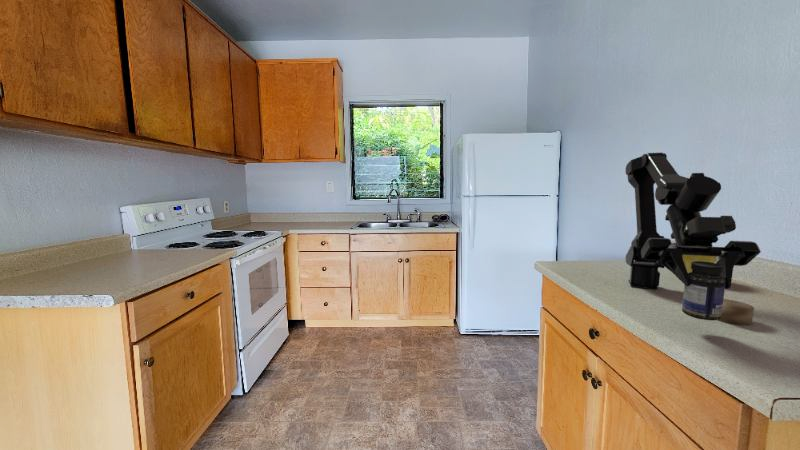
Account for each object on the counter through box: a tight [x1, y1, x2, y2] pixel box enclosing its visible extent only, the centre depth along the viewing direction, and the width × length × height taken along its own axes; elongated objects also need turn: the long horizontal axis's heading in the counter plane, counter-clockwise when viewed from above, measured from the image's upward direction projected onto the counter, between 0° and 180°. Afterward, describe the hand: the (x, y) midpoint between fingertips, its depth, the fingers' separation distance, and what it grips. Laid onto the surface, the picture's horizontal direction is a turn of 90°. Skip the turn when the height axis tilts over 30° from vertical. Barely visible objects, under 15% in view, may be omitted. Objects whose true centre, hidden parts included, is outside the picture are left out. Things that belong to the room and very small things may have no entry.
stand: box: [718, 298, 755, 326], centre depth 75 cm, size 7×7×4 cm
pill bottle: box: [681, 261, 726, 321], centre depth 68 cm, size 6×6×11 cm
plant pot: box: [683, 255, 717, 273], centre depth 106 cm, size 10×10×10 cm
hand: (708, 286), depth 67 cm, fingers closed on pill bottle, 6 cm apart
